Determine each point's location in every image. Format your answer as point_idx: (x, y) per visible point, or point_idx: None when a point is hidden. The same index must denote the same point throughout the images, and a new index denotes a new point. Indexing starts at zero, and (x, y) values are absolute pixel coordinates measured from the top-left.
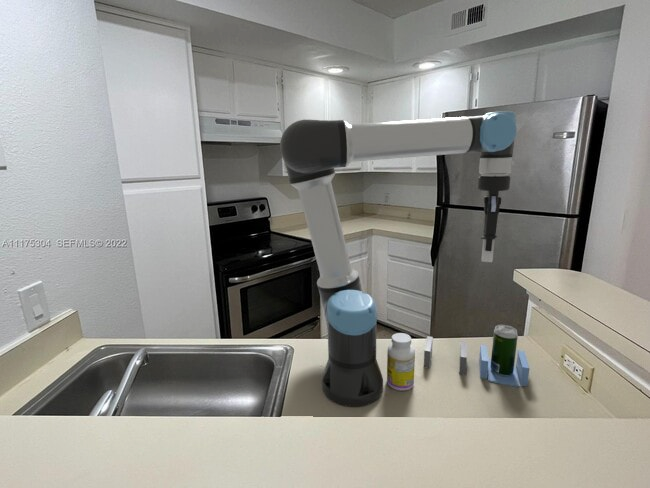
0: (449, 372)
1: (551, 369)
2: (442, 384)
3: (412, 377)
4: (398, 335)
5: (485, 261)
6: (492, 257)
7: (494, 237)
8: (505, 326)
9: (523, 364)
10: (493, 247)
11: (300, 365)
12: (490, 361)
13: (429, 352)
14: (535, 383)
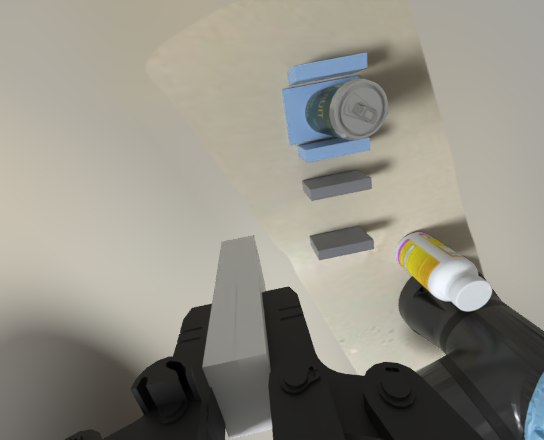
0: (358, 195)
1: (262, 7)
2: (395, 196)
3: (433, 239)
4: (467, 303)
5: (261, 269)
6: (255, 251)
7: (420, 382)
8: (342, 113)
9: (355, 66)
10: (259, 294)
11: (415, 362)
12: (297, 135)
13: (372, 239)
14: (332, 44)
